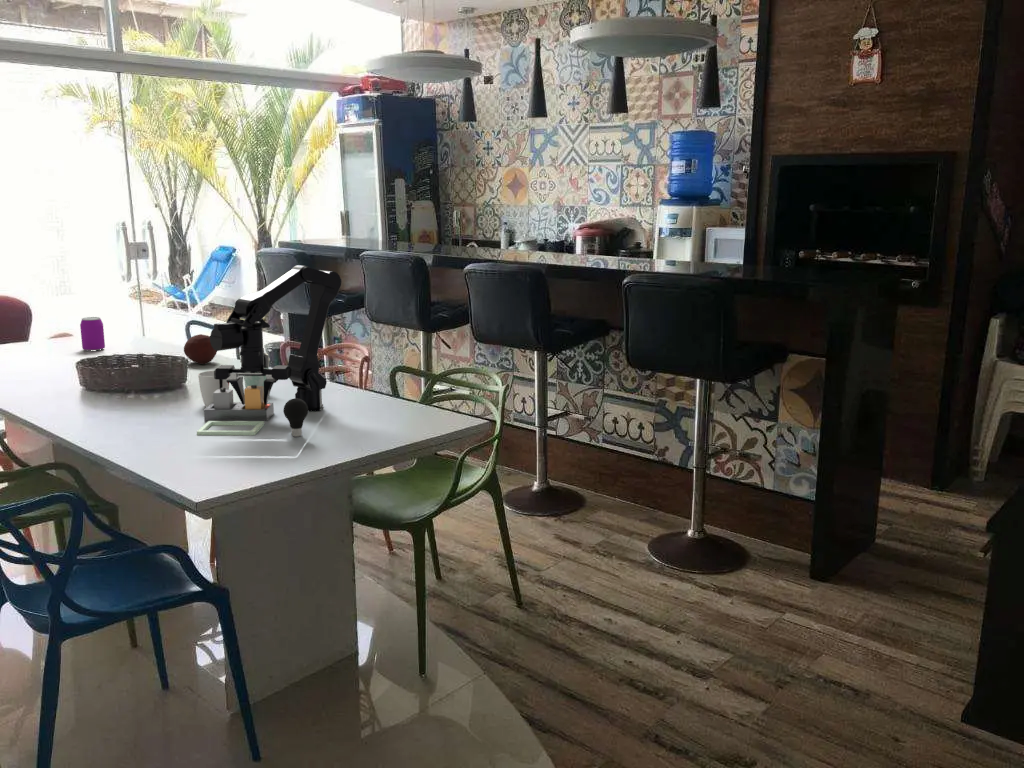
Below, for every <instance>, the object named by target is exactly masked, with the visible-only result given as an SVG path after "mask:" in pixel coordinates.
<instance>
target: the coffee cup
mask: <svg viewBox="0 0 1024 768" xmlns="http://www.w3.org/2000/svg"><path fill="white" fill-rule="evenodd" d="M264 353H265V354H266V355H267V356H269V354H268V353H267V352H264ZM270 362H271V359H270V357H269V360H268V368H264V369H270V368H269V367H270ZM240 363H241V360H240ZM249 373H250V372H249ZM255 373H256V372H255ZM258 373H259V372H258ZM266 379H267V377H266V376H243V382H244V387H245V388H246V387H248V386H251V385H257V386H264V381H265V380H266Z"/></svg>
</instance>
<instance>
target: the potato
mask: <svg viewBox="0 0 1024 768" xmlns="http://www.w3.org/2000/svg"><path fill="white" fill-rule="evenodd" d="M183 353H184V355H185V356H186V357H187V358H188V359H189V360H191V361H192V362H193V363H196V364H200V365H206V364H209V363H211V362H212V360H214V359H215V356H217V353H218V351H216V350H214V349H213V347H212V346H211V343H210V336H209V335H207V334H197V335H193V336H191V337H190V338H189V339H188V340H187V341H186V342H185V343H184V346H183Z"/></svg>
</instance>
